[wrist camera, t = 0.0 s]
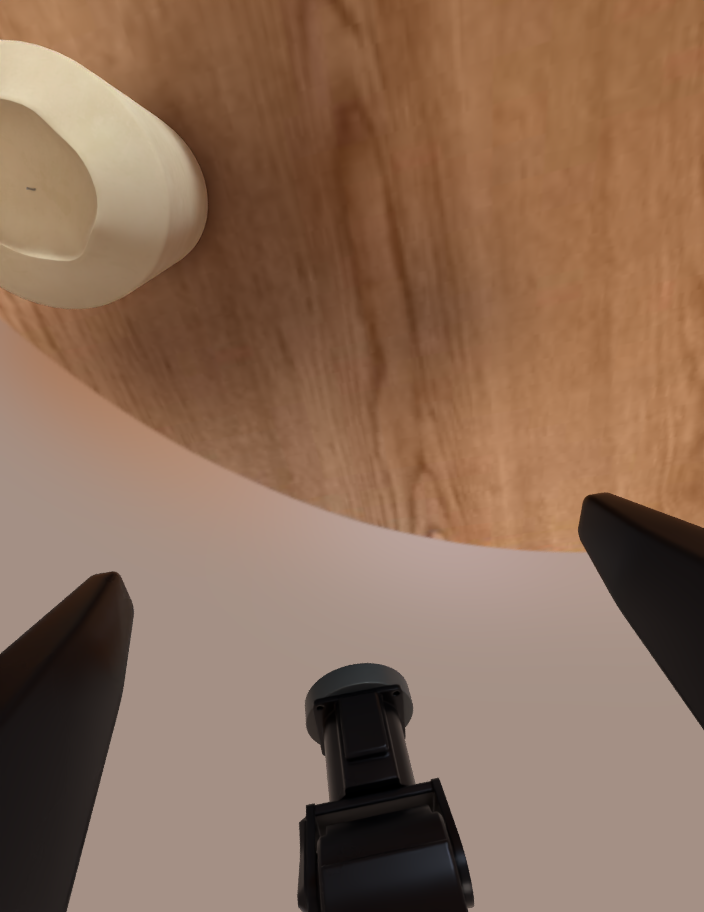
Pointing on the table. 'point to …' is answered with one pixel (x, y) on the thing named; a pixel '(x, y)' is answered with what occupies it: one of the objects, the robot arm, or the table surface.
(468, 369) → the table surface
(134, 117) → the candle
